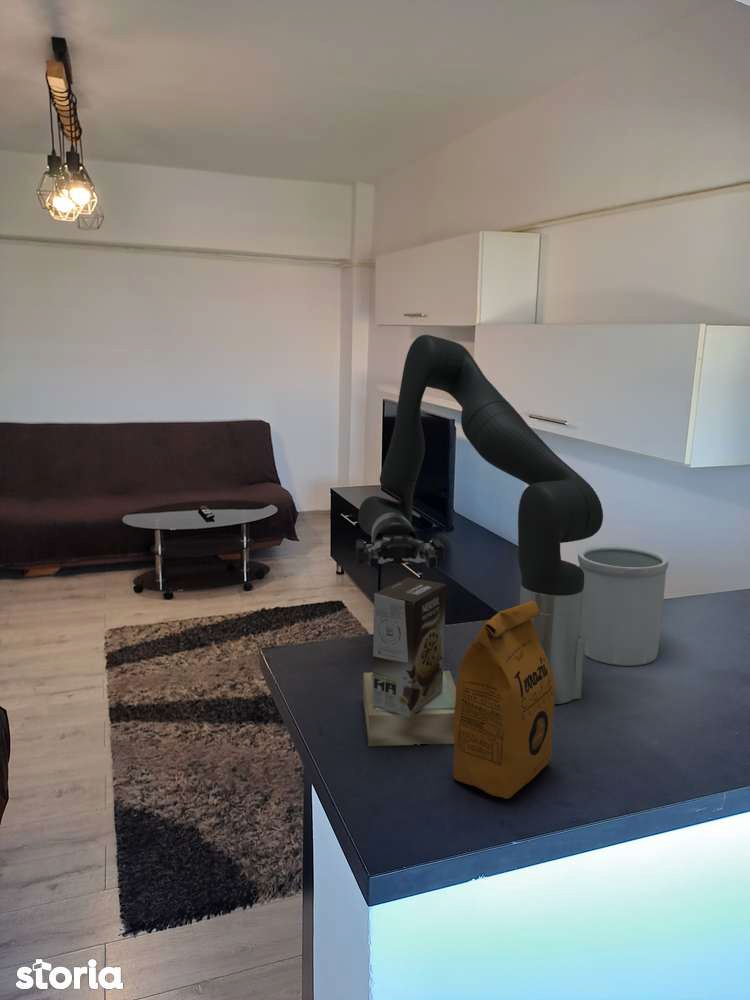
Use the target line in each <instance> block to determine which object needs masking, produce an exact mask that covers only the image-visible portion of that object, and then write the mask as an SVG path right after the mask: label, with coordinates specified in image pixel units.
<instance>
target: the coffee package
mask: <svg viewBox="0 0 750 1000" xmlns="http://www.w3.org/2000/svg"><path fill="white" fill-rule="evenodd" d="M539 614H540V610H539V608H538V606H537V604H536V602H535V601H529V602H527V603H524V604H521V605H520V604H519V605H516V606H513V607H511V608H507V609H503V610H500V611H498V612H497V613H496V614H495V615H494V616H492V617H491V618H490V619H489V620H488V621H486V622H485V623H484V624H483V625H482V628H481V629H480V630H479V633H477V635H476V637H475V638H474V639H473V641H472V643H471V645H469V647H468V648H467V649H466V651H465V652H464V653H465V654H464V655H463V657H462V660H461V661H460V665H459V670H458V676H457V683H456V702H455V711H454V744H453V750H454V751H453V773H452V775H453V776H452V777H453V779H454V780H455V781H457V782H460V783H462V784H466V785H469V786H474V787H476V788H478V789H480V790H481V791H483V792H484V793H486V794H488V795H490V796H493V797H499V798H503V799H506V800H507V799H510V798H512V797H513V796H514V795H515V794H516V793H517V792H518V791H520V790H521V789H523V787H525V786H526V785H527V784H528V783H530V781H532V780H533V779H534V778H536V777H537V775H538V774H539V773H540V772H541V771H542V770H543V769H544V768H546V766H548V764H549V763H550V761H551V760H552V757H553V727H554V726H553V725H554V723H553V722H554V721H553V720H554V719H553V718H554V714H555V713H554V712H555V705H556V704H555V694H556V691H555V685H554V678H553V673H552V670H551V667H550V665H549V662H548V659H547V657H546V654H545V652H544V650H543V649H542V647H541V645H540V643H539V641H538V637H537V633H536V630H535V627H534V623H533V622H532V621H531V619H532V618H535V617H537V616H538V615H539Z"/></svg>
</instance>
